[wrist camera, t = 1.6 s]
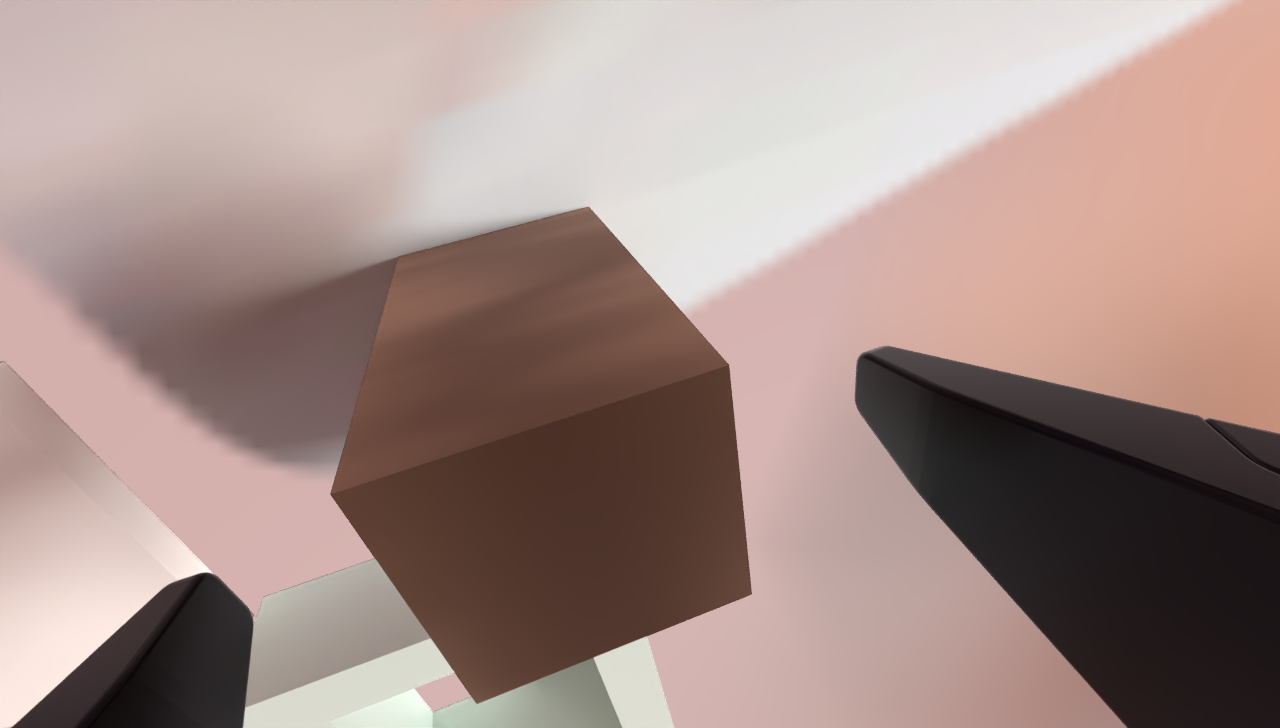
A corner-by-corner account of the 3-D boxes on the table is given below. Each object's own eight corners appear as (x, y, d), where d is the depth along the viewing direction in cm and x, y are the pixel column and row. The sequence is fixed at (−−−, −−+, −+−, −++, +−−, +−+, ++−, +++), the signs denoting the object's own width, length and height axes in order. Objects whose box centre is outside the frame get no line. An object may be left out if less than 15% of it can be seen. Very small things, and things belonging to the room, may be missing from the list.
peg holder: (597, 480, 15) (625, 564, 13) (649, 651, 20) (676, 736, 17) (263, 596, 14) (220, 717, 11) (406, 749, 19) (398, 856, 16)
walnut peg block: (589, 206, 11) (728, 364, 6) (624, 362, 13) (751, 594, 8) (398, 256, 11) (329, 493, 5) (467, 411, 13) (476, 704, 7)
